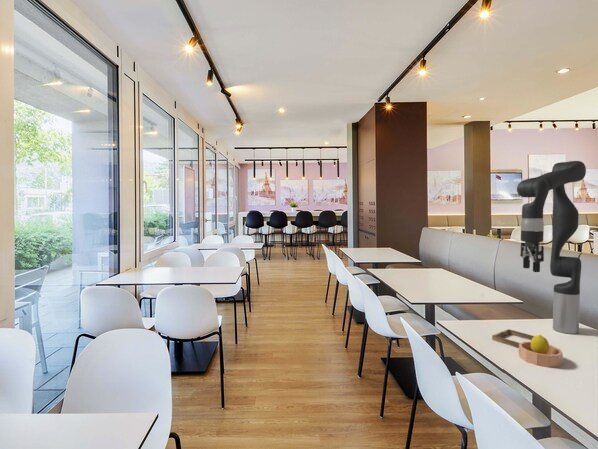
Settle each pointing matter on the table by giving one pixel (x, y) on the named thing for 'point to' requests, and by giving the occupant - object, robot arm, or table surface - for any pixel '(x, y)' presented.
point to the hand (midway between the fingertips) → (531, 270)
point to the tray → (498, 336)
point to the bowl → (541, 355)
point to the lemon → (539, 345)
